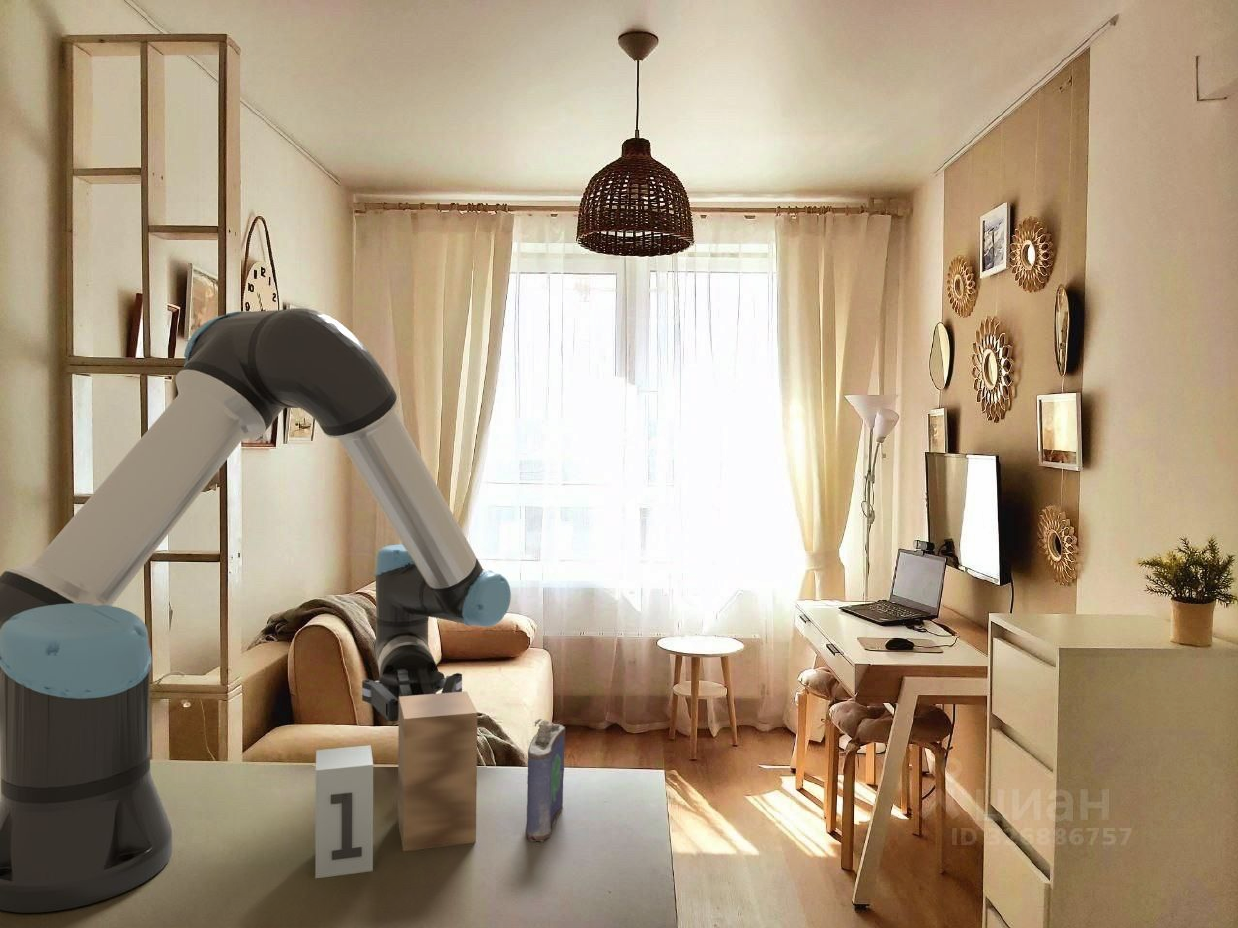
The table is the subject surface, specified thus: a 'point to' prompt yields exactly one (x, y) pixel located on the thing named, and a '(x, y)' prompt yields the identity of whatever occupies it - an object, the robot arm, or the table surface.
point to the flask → (545, 780)
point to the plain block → (437, 770)
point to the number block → (344, 811)
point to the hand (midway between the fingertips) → (426, 729)
